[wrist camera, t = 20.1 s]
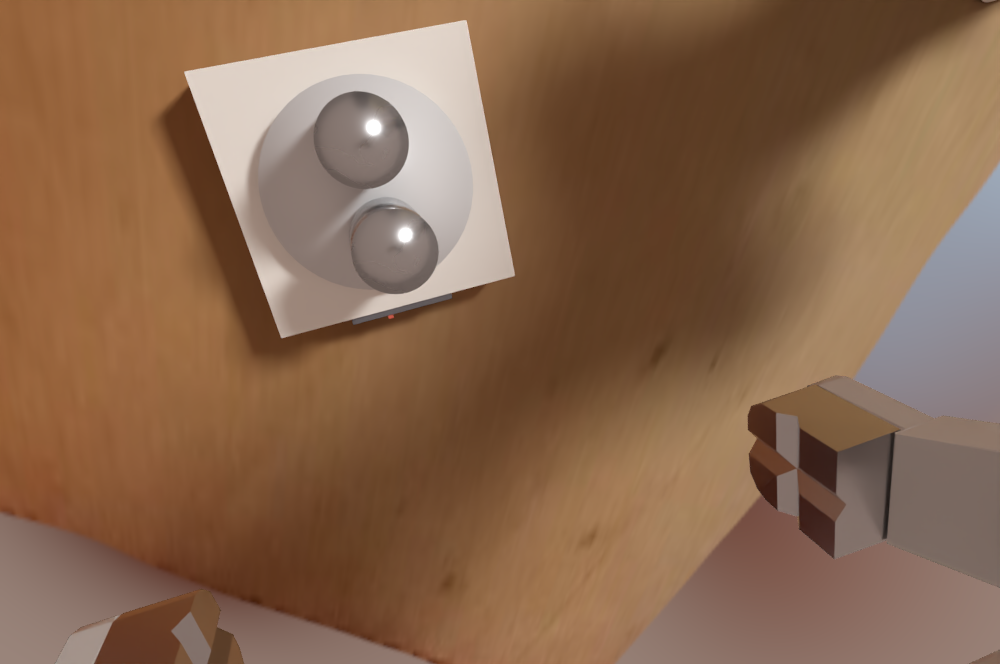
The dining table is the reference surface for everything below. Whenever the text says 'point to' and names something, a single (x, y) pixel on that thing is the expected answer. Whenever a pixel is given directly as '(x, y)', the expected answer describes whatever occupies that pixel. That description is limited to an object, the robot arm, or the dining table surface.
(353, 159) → the cylinder
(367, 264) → the cylinder
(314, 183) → the scale
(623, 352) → the dining table surface
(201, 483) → the dining table surface
